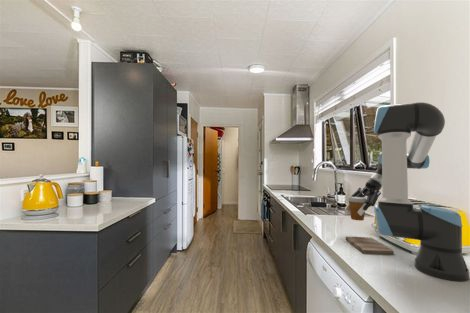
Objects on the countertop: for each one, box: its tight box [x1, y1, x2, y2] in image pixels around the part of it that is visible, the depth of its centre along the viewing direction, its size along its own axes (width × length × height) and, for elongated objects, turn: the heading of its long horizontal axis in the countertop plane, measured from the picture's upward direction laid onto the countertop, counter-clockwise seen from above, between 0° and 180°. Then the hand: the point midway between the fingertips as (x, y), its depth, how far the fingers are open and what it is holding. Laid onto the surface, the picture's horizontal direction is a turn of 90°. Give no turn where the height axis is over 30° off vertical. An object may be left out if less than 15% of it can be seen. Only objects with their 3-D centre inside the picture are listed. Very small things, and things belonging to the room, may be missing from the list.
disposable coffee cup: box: [347, 196, 367, 221], centre depth 132 cm, size 10×10×12 cm
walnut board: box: [345, 236, 395, 255], centre depth 113 cm, size 19×13×2 cm
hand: (352, 212), depth 131 cm, fingers closed on disposable coffee cup, 9 cm apart
